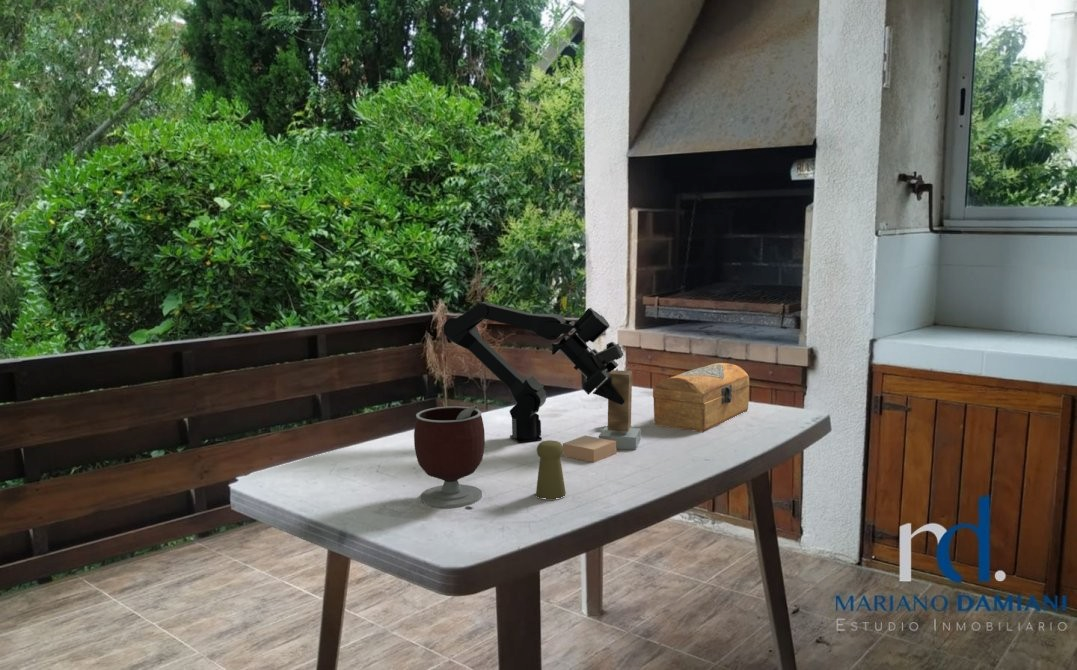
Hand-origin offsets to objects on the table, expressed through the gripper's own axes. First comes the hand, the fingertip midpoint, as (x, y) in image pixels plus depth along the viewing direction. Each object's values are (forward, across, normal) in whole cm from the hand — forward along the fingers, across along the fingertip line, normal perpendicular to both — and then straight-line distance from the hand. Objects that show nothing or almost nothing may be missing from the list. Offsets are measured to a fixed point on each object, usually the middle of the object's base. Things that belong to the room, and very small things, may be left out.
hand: (624, 401), depth 192 cm
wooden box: (+20, +32, -4) cm, 38 cm away
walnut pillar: (+4, 0, +6) cm, 7 cm away
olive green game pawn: (+2, -40, +14) cm, 43 cm away
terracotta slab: (+3, -11, +12) cm, 17 cm away
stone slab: (+7, 0, +8) cm, 11 cm away
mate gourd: (-11, -46, +27) cm, 55 cm away
